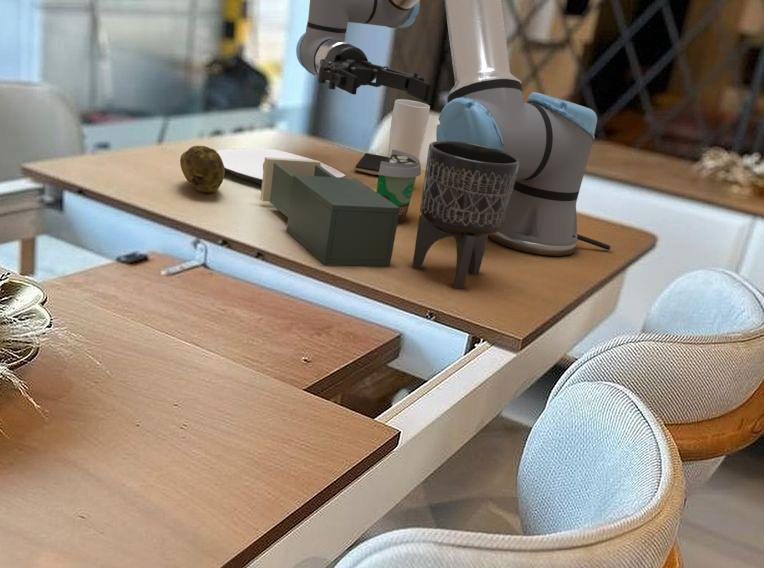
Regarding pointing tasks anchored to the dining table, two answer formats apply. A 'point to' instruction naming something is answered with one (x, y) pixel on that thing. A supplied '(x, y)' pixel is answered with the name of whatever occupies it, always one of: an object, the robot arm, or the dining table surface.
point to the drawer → (286, 179)
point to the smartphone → (370, 163)
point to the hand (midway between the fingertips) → (391, 89)
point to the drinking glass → (408, 126)
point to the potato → (203, 168)
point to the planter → (464, 200)
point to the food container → (398, 180)
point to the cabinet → (342, 221)
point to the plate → (258, 162)
